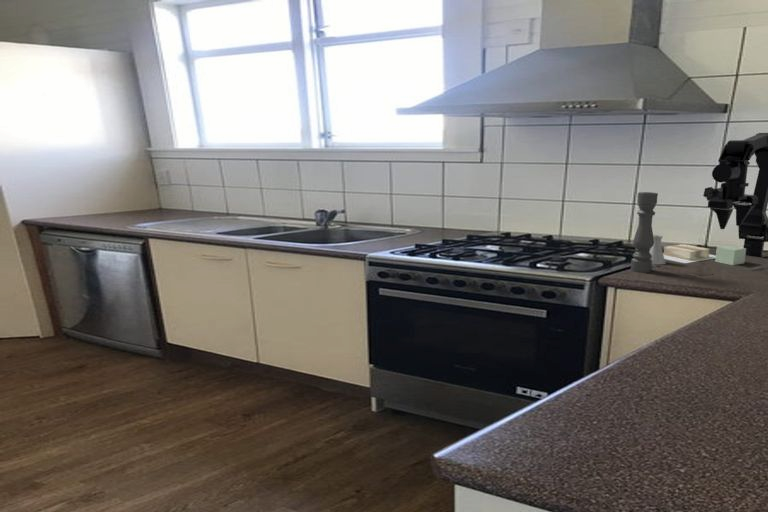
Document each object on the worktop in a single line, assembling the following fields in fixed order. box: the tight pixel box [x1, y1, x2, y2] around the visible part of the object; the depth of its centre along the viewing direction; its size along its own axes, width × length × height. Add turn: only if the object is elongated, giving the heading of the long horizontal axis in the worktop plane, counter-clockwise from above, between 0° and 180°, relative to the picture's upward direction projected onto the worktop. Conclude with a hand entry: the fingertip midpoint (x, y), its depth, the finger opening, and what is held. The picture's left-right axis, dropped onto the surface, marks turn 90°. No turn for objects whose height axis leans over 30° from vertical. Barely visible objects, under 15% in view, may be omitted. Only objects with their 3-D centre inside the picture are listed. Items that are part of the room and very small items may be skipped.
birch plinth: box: [663, 243, 711, 260], centre depth 193 cm, size 10×10×3 cm
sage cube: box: [714, 245, 746, 266], centre depth 183 cm, size 6×6×6 cm
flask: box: [649, 234, 667, 268], centre depth 184 cm, size 7×7×10 cm
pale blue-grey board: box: [663, 252, 716, 264], centre depth 193 cm, size 20×14×1 cm
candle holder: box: [630, 191, 659, 273], centre depth 176 cm, size 6×6×25 cm
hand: (730, 227), depth 181 cm, fingers open, 9 cm apart
